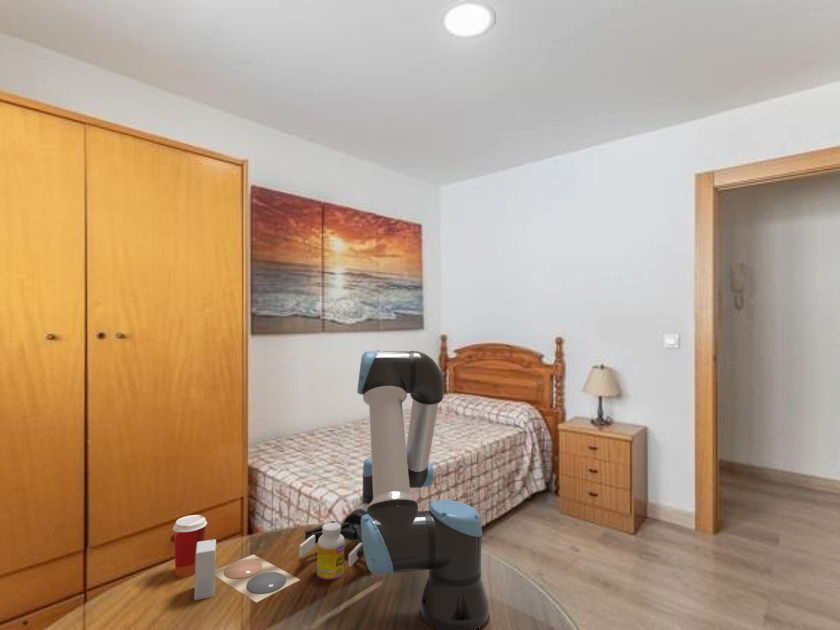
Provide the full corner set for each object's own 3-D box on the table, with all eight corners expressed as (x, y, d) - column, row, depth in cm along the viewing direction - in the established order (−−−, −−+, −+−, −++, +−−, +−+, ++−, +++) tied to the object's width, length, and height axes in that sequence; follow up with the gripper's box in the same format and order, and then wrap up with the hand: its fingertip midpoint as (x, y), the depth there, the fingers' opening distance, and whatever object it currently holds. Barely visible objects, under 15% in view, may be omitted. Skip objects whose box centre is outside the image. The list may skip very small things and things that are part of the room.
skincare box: (194, 593, 106) (196, 541, 107) (214, 589, 108) (216, 538, 109) (193, 607, 101) (195, 553, 101) (214, 603, 103) (216, 549, 103)
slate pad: (293, 581, 109) (293, 580, 109) (261, 598, 102) (261, 597, 102) (271, 569, 115) (271, 568, 115) (238, 584, 108) (239, 583, 108)
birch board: (300, 586, 110) (300, 579, 110) (256, 609, 101) (256, 602, 101) (253, 559, 122) (253, 554, 122) (209, 578, 113) (210, 572, 113)
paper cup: (195, 565, 119) (197, 511, 119) (211, 575, 114) (213, 519, 115) (164, 578, 112) (166, 521, 113) (179, 589, 108) (182, 529, 108)
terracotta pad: (269, 568, 115) (269, 566, 115) (236, 583, 108) (236, 581, 108) (249, 557, 121) (249, 555, 121) (216, 570, 114) (217, 569, 114)
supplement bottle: (337, 587, 110) (338, 533, 110) (312, 583, 111) (313, 530, 112) (347, 573, 117) (348, 522, 117) (323, 569, 118) (324, 519, 118)
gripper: (401, 541, 128) (371, 580, 107) (322, 528, 135) (280, 562, 115) (401, 514, 128) (371, 548, 108) (323, 503, 135) (281, 532, 115)
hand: (324, 555), depth 111 cm, fingers open, 13 cm apart
